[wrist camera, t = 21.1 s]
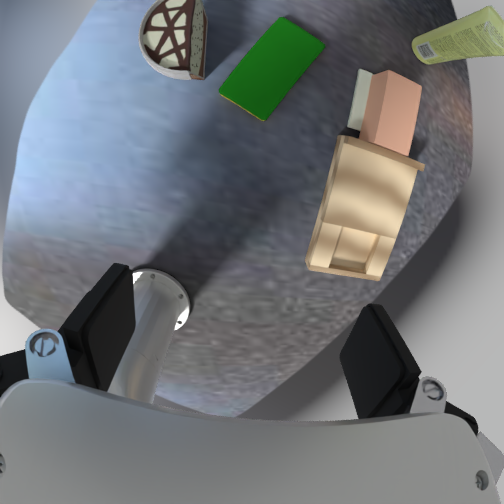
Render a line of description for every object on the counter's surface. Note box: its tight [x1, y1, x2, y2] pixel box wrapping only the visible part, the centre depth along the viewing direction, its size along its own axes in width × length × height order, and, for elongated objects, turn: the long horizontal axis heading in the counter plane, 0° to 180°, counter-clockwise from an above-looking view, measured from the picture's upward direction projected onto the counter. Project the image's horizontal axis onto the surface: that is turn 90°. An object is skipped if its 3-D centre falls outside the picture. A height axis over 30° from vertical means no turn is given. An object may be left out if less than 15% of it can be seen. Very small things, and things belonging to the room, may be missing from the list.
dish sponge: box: [219, 17, 325, 121], centre depth 29 cm, size 7×14×2 cm, turn 145°
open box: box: [305, 135, 425, 281], centre depth 36 cm, size 19×12×4 cm, turn 169°
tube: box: [412, 6, 504, 64], centre depth 17 cm, size 6×5×20 cm
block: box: [359, 70, 422, 156], centre depth 29 cm, size 5×5×10 cm
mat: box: [347, 69, 375, 131], centre depth 31 cm, size 9×9×1 cm
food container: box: [139, 0, 208, 80], centre depth 23 cm, size 12×6×10 cm, turn 178°
